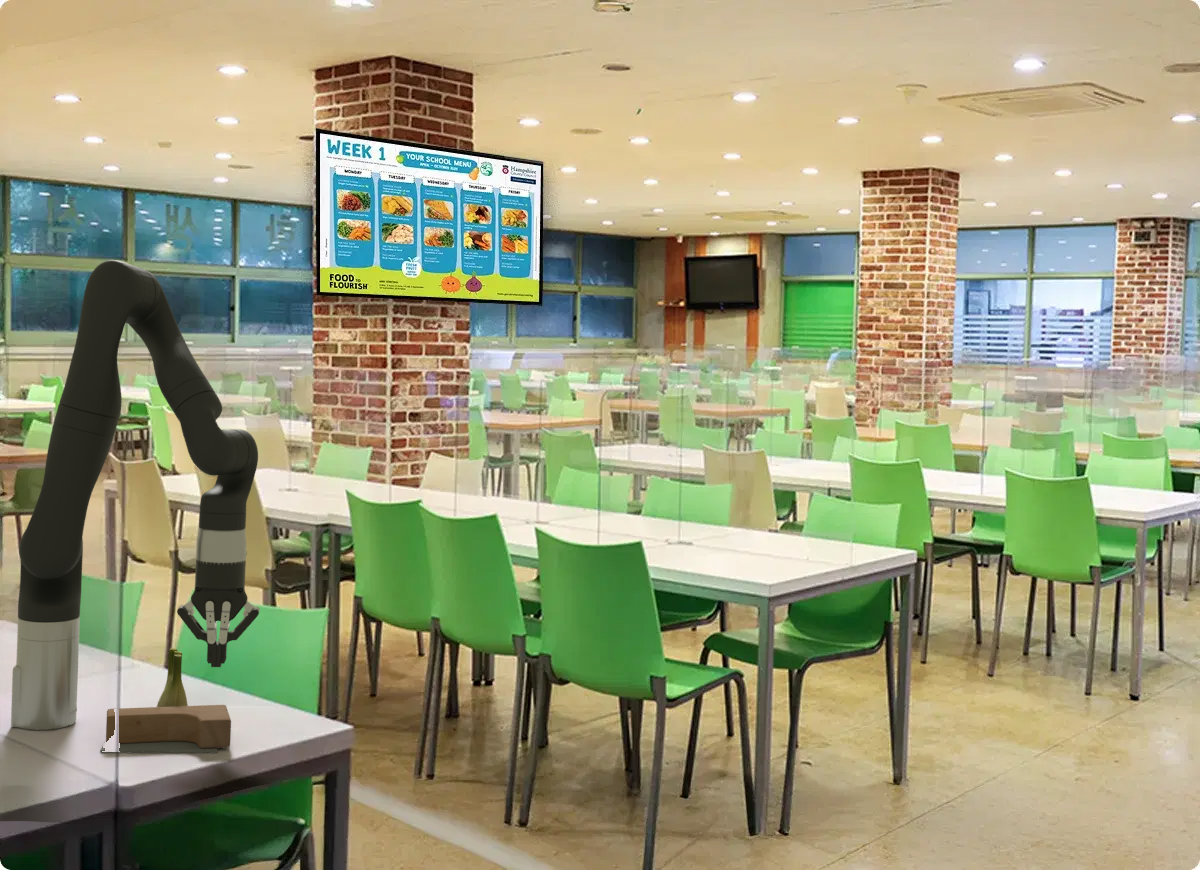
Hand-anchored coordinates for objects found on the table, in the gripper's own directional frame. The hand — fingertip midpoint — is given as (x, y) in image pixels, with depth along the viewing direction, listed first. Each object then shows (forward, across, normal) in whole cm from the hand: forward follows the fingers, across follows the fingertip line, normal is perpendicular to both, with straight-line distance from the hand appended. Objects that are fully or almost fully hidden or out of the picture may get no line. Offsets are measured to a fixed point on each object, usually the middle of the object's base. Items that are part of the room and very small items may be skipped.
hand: (216, 666), depth 211 cm
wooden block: (+9, +2, 0) cm, 10 cm away
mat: (+12, -8, 0) cm, 14 cm away
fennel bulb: (+12, -8, +11) cm, 18 cm away
